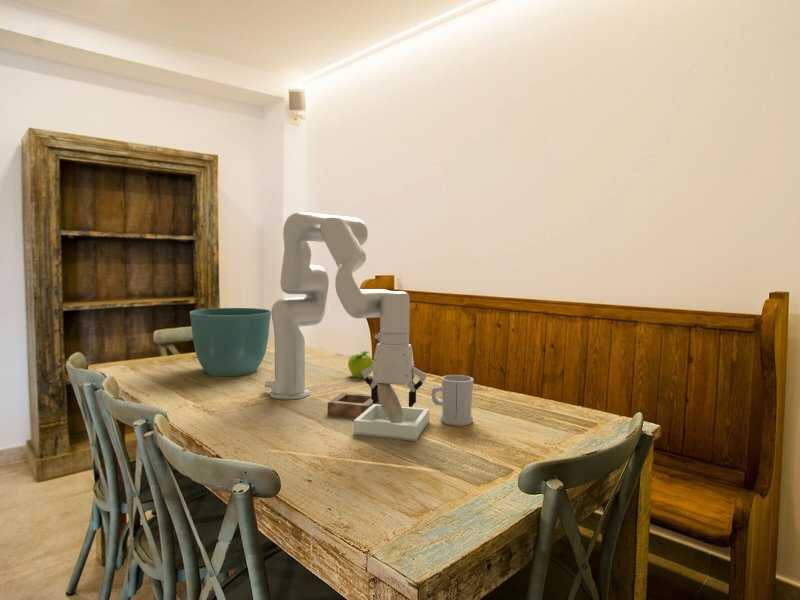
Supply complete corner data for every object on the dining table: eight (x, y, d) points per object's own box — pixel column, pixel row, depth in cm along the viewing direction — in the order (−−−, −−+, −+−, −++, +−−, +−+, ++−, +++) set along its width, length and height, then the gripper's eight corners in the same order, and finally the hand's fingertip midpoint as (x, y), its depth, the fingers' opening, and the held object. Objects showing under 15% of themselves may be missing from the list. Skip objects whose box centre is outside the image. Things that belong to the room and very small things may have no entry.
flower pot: (258, 381, 181) (258, 315, 180) (176, 380, 182) (175, 313, 180) (279, 365, 211) (279, 308, 210) (208, 364, 212) (208, 307, 210)
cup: (446, 428, 131) (447, 383, 130) (428, 419, 139) (429, 376, 138) (479, 423, 136) (480, 380, 135) (460, 414, 144) (461, 373, 143)
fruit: (377, 377, 192) (377, 351, 191) (362, 381, 184) (363, 354, 183) (358, 374, 197) (358, 349, 196) (343, 378, 189) (343, 352, 188)
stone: (402, 428, 128) (397, 381, 127) (378, 429, 129) (373, 383, 128) (406, 421, 133) (402, 377, 133) (383, 422, 134) (379, 378, 134)
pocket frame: (327, 414, 142) (327, 402, 142) (343, 403, 154) (343, 392, 153) (367, 418, 139) (367, 405, 139) (380, 406, 151) (380, 395, 150)
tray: (353, 434, 125) (353, 420, 125) (373, 416, 141) (373, 404, 140) (415, 441, 121) (416, 426, 121) (429, 421, 137) (429, 409, 136)
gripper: (357, 339, 128) (357, 405, 129) (424, 342, 124) (422, 411, 125) (367, 335, 135) (366, 398, 136) (430, 338, 131) (428, 403, 132)
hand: (393, 404), depth 131 cm, fingers open, 9 cm apart
